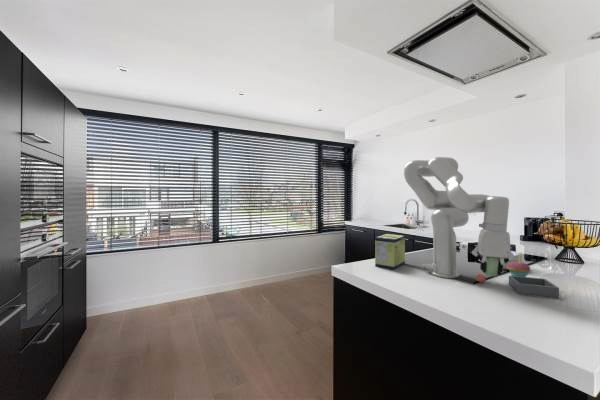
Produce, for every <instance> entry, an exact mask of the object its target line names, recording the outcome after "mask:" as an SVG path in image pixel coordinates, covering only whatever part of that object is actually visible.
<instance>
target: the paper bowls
mask: <svg viewBox="0 0 600 400" xmlns="http://www.w3.org/2000/svg"><path fill="white" fill-rule="evenodd" d="M510 251H511V253H512V254H513V255H514V257H515V258H514V259H512V260H509V261H508V262H506V263H505V264H504V265H503V270H508V269H507V267H506V265H507V264H508V263H510V262H513V261H515V262H519V257H520V254H521V253H520V252H518V251H514V250H510Z"/></svg>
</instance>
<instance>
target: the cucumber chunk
mask: <svg viewBox="0 0 600 400" xmlns="http://www.w3.org/2000/svg"><path fill="white" fill-rule="evenodd" d="M485 263H486V272H485V273H483V274H484V275H485V276H489V277H498V275H499V274H498V266H499V258H497V257H488V256H487V257H486V260H485Z"/></svg>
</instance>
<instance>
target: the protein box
mask: <svg viewBox="0 0 600 400" xmlns="http://www.w3.org/2000/svg"><path fill="white" fill-rule="evenodd" d="M405 239H406V236H405V235H402V234H400V235H399V234H393V233H385V234H383V235H379V236H375V237H374V246H375V247H374V250H375V251H374V258H375V259H374V265H375V267H377V268H382V269H389V270H396V269H398V268H399V267H401V266H403V265H405V263H406V240H405Z"/></svg>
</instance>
